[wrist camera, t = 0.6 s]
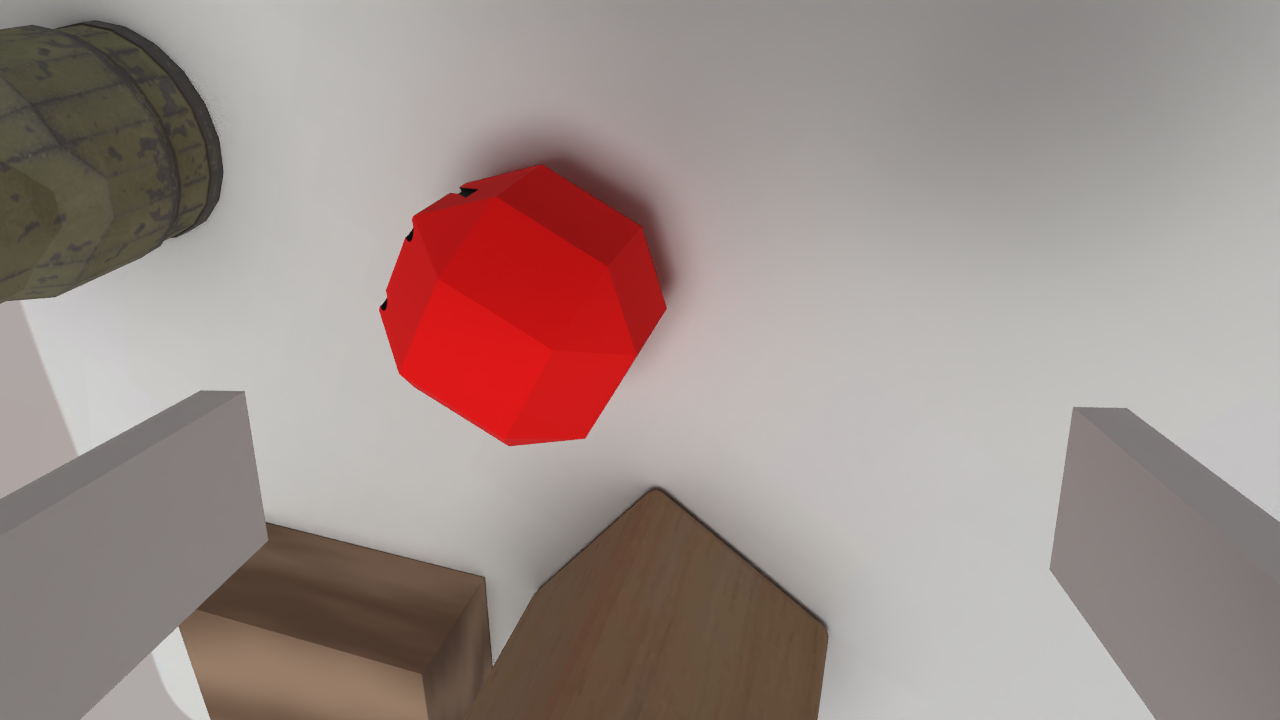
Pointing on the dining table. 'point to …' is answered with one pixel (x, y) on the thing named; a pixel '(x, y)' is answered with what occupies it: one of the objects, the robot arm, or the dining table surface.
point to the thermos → (95, 155)
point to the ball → (521, 305)
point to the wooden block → (658, 634)
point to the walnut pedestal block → (339, 636)
